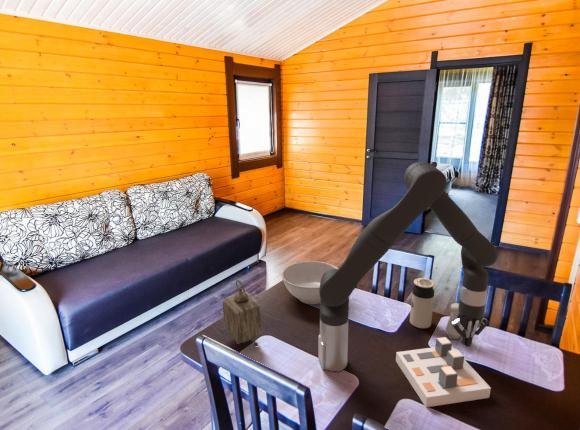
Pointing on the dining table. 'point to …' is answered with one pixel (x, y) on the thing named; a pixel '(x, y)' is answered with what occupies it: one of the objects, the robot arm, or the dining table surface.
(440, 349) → the knob far
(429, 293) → the travel mug
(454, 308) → the salt shaker
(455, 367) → the knob mid
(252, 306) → the brown wooden lantern
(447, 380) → the grey block
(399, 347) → the dining table surface
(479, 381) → the tray
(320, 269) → the decorative bowl
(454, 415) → the dining table surface
